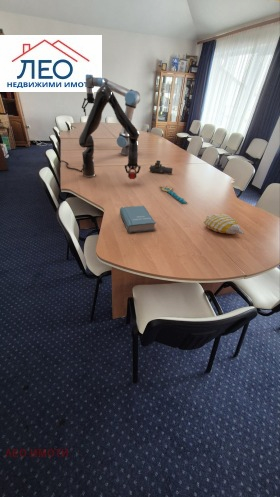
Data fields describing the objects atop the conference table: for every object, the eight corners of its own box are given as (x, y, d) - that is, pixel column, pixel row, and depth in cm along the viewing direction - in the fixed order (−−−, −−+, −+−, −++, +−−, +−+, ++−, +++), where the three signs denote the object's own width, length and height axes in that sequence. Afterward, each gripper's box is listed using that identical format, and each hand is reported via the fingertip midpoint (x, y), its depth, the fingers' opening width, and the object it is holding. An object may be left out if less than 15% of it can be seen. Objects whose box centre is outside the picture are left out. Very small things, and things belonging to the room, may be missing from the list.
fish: (254, 225, 128) (232, 232, 118) (249, 236, 132) (228, 244, 123) (221, 208, 144) (199, 213, 134) (217, 218, 149) (196, 224, 139)
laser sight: (171, 175, 213) (172, 165, 207) (148, 172, 216) (149, 162, 210) (172, 172, 221) (173, 162, 215) (150, 169, 224) (150, 159, 218)
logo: (159, 187, 187) (159, 186, 186) (169, 186, 189) (169, 185, 189) (175, 204, 161) (175, 203, 161) (187, 203, 164) (187, 202, 163)
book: (154, 230, 131) (155, 222, 128) (128, 232, 126) (128, 225, 124) (143, 212, 148) (143, 205, 145) (119, 214, 144) (120, 207, 141)
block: (129, 179, 185) (129, 173, 182) (129, 177, 188) (129, 171, 186) (134, 179, 185) (134, 173, 182) (134, 177, 189) (134, 171, 186)
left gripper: (124, 157, 173) (123, 179, 183) (142, 158, 174) (140, 179, 184) (124, 154, 179) (123, 176, 189) (141, 155, 180) (140, 176, 190)
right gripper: (77, 92, 230) (79, 115, 243) (101, 93, 232) (102, 117, 245) (78, 92, 236) (80, 115, 249) (102, 93, 238) (103, 116, 251)
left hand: (132, 177), depth 186 cm, fingers closed on block, 4 cm apart
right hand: (91, 116), depth 247 cm, fingers open, 13 cm apart
